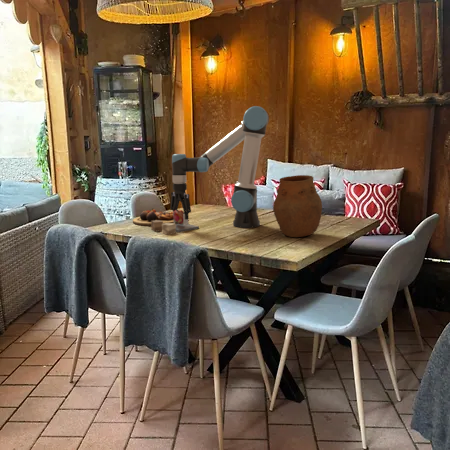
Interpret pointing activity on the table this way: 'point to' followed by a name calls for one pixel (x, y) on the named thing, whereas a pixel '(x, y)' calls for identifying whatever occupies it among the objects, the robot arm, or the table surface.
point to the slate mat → (185, 227)
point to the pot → (297, 206)
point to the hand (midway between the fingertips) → (180, 223)
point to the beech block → (168, 228)
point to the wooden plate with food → (154, 217)
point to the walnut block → (156, 225)
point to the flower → (178, 217)
